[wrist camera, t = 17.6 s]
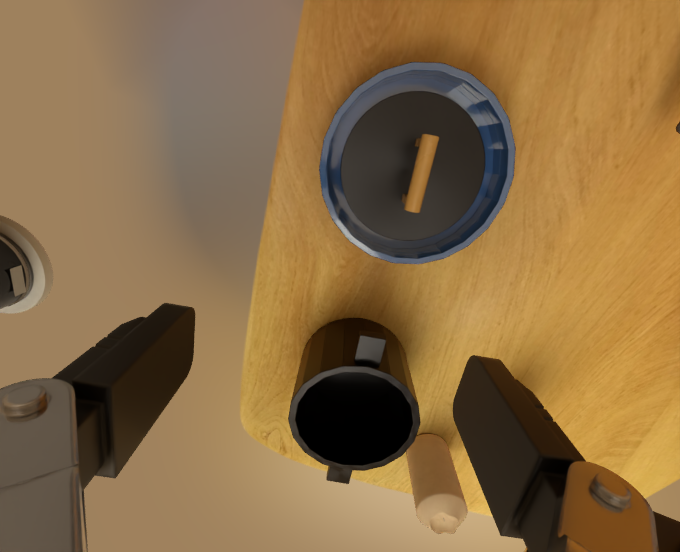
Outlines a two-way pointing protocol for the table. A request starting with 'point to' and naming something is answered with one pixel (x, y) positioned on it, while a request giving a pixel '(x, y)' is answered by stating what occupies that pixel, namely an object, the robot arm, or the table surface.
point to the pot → (354, 398)
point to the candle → (435, 484)
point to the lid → (412, 165)
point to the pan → (496, 148)
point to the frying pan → (678, 128)
